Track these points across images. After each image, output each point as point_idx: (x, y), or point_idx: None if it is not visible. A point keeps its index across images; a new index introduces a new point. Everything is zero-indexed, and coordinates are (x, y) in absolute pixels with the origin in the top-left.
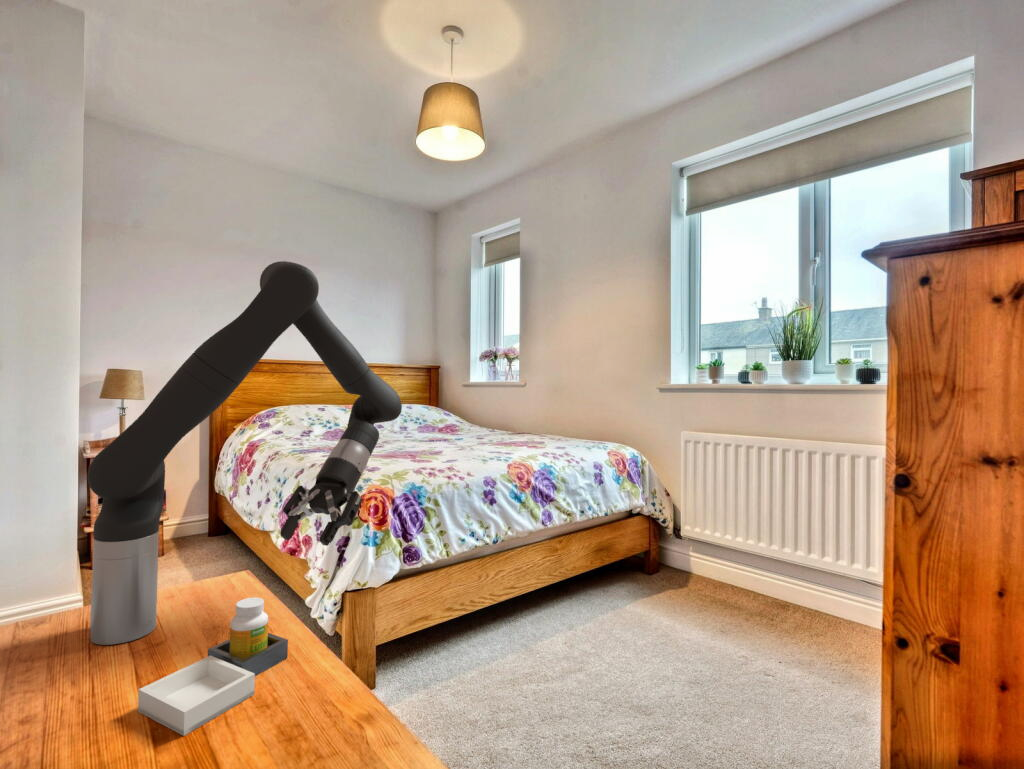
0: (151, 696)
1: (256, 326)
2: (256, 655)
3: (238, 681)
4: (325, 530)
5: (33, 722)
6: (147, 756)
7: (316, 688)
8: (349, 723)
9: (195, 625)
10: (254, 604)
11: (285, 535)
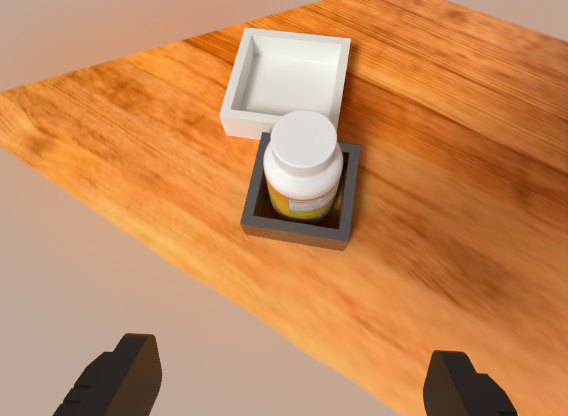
0: (318, 35)
1: None
2: (257, 157)
3: (228, 93)
4: (105, 388)
5: (443, 16)
6: (260, 22)
7: (143, 177)
8: (59, 129)
9: (543, 281)
10: (283, 132)
11: (434, 370)
